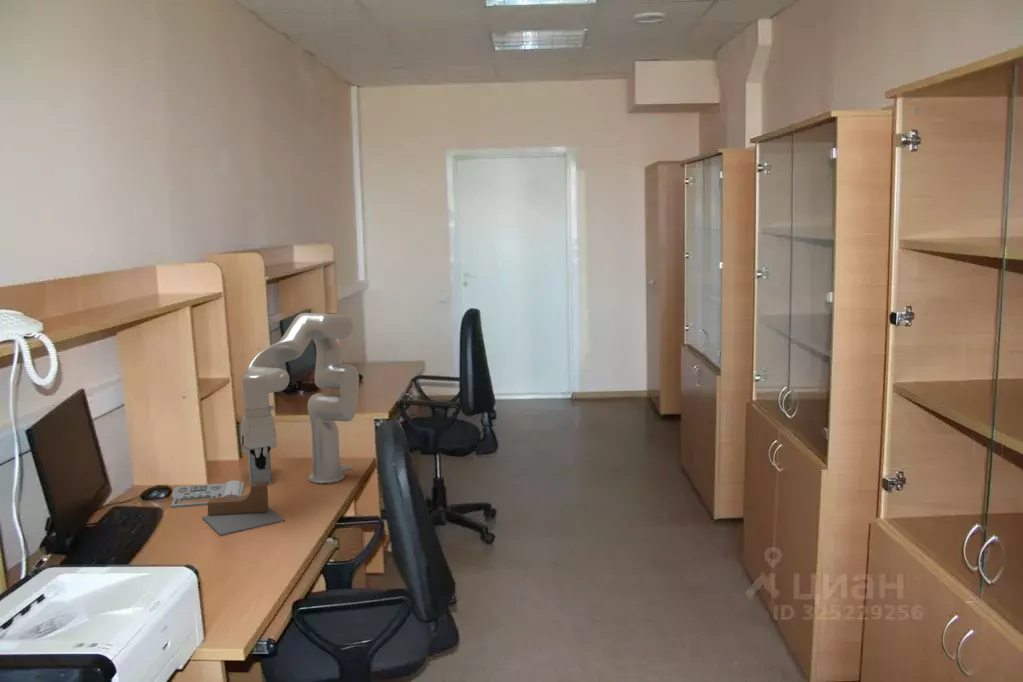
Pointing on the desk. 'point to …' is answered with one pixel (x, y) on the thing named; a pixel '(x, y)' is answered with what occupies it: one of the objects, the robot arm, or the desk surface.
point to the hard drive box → (257, 474)
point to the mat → (241, 521)
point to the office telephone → (205, 492)
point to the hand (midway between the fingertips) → (260, 468)
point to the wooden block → (241, 502)
